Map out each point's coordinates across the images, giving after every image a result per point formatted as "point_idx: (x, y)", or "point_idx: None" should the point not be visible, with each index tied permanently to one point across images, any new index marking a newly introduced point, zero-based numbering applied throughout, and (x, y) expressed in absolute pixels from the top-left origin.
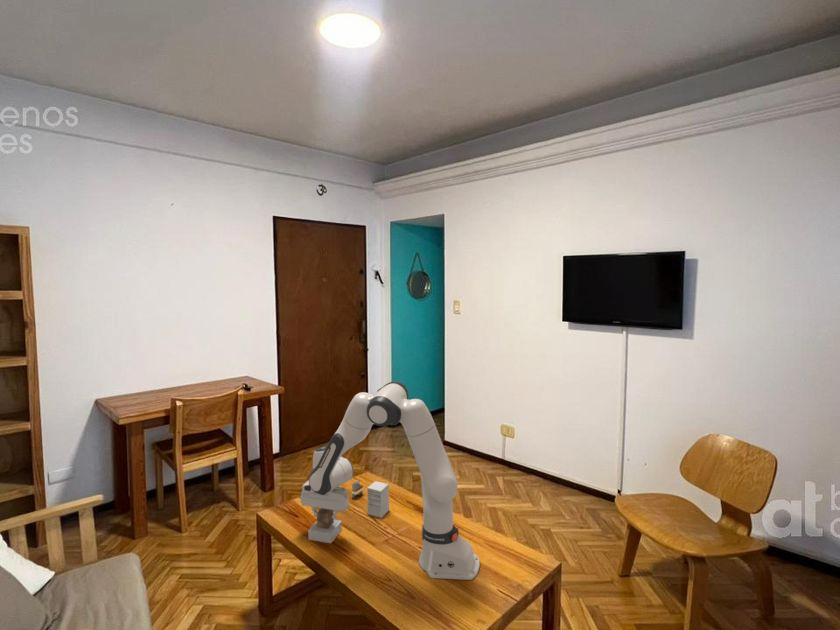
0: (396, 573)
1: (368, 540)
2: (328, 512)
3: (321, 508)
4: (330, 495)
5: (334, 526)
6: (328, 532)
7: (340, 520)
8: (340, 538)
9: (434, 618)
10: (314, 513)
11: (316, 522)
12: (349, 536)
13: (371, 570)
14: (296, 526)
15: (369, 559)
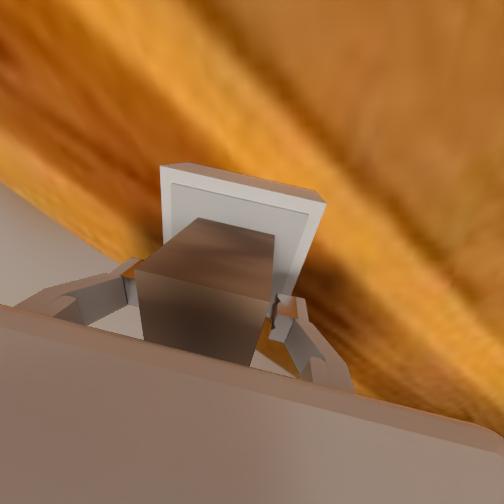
0: (500, 408)
1: (455, 275)
2: (240, 355)
3: (142, 296)
4: None
5: (288, 272)
6: (267, 312)
7: (317, 201)
8: (316, 260)
9: None
10: (123, 300)
11: (169, 230)
12: (359, 246)
13: (422, 393)
14: (78, 172)
15: (427, 363)
